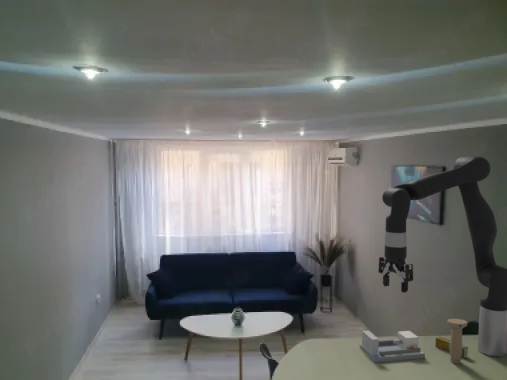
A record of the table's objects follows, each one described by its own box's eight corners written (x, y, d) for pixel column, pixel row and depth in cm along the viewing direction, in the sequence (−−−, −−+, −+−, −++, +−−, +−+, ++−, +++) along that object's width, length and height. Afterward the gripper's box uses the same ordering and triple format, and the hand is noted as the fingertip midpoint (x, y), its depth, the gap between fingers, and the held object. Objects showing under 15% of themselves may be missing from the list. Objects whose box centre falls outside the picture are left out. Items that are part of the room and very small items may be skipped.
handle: (467, 365, 155) (469, 323, 154) (449, 365, 155) (451, 323, 154) (461, 359, 160) (463, 318, 159) (443, 358, 160) (445, 318, 159)
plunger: (409, 343, 169) (409, 330, 169) (421, 352, 161) (421, 339, 161) (390, 345, 167) (390, 332, 167) (401, 354, 159) (401, 341, 159)
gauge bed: (407, 344, 172) (407, 325, 172) (424, 357, 161) (425, 337, 160) (359, 347, 168) (360, 328, 168) (374, 362, 157) (374, 341, 156)
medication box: (468, 357, 162) (468, 347, 161) (463, 359, 160) (464, 348, 160) (438, 345, 172) (439, 335, 171) (434, 347, 170) (435, 336, 170)
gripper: (419, 246, 151) (418, 292, 152) (388, 239, 163) (388, 282, 165) (403, 249, 147) (402, 296, 149) (373, 241, 160) (373, 285, 161)
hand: (395, 289), depth 157 cm, fingers open, 8 cm apart
